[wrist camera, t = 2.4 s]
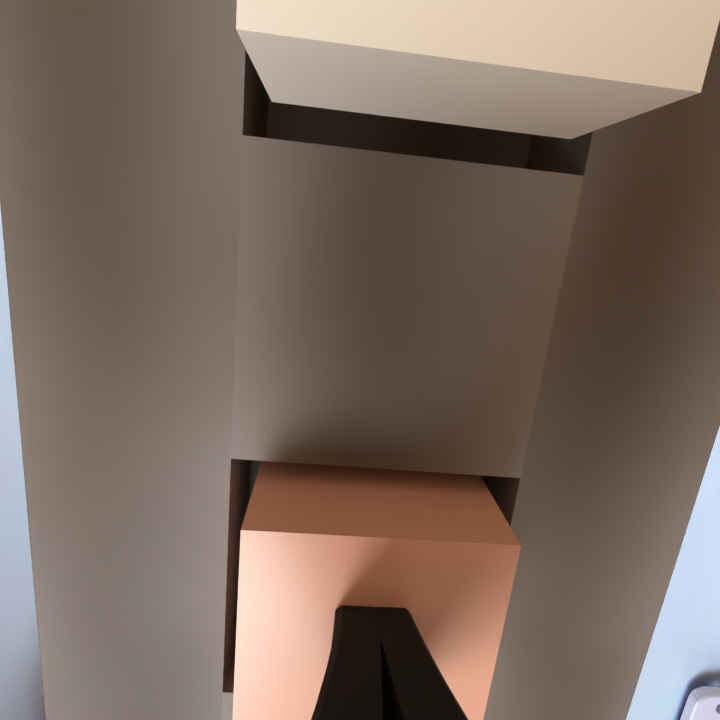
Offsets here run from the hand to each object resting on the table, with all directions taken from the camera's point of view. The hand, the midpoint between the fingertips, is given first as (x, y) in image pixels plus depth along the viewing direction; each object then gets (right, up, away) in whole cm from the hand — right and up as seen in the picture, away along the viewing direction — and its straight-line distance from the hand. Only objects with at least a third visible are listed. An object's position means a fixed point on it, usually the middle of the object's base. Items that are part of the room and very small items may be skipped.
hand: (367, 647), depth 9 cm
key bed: (0, +7, +3) cm, 8 cm away
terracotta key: (0, +1, +3) cm, 3 cm away
